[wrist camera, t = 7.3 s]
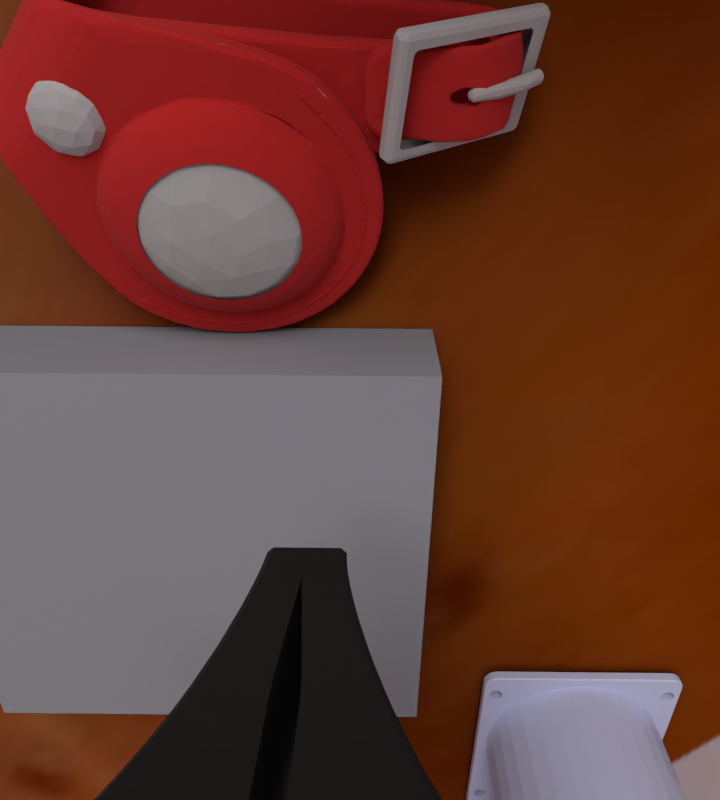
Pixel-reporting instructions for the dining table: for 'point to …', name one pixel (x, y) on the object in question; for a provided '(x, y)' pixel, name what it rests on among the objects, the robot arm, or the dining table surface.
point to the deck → (202, 498)
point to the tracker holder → (245, 135)
